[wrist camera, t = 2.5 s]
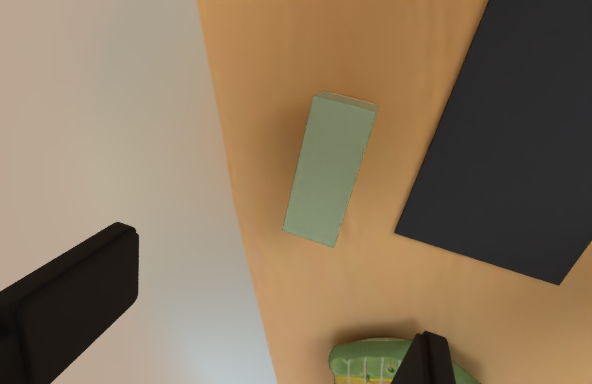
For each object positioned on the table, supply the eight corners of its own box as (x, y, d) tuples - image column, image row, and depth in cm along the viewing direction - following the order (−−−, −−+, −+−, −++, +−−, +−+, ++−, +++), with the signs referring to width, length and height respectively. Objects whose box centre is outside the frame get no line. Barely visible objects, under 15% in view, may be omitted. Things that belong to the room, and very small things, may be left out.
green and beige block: (328, 86, 25) (312, 95, 20) (380, 100, 24) (377, 112, 19) (300, 201, 29) (281, 231, 24) (343, 215, 29) (333, 248, 24)
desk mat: (509, -50, 19) (510, -51, 19) (764, -4, 17) (769, -5, 17) (394, 231, 28) (394, 233, 28) (557, 283, 26) (558, 285, 26)
